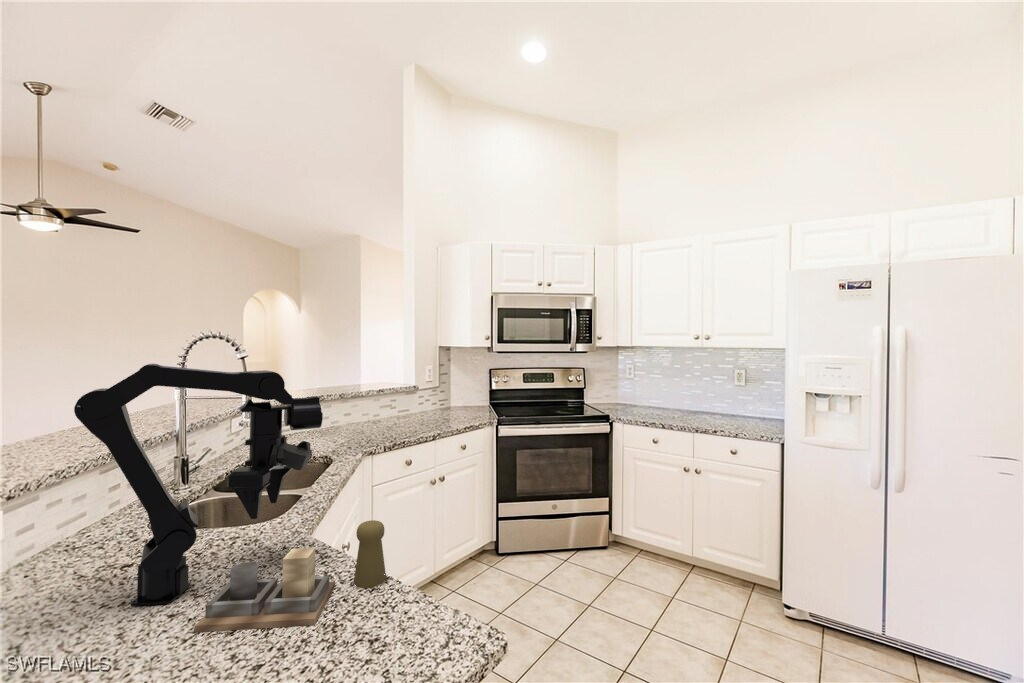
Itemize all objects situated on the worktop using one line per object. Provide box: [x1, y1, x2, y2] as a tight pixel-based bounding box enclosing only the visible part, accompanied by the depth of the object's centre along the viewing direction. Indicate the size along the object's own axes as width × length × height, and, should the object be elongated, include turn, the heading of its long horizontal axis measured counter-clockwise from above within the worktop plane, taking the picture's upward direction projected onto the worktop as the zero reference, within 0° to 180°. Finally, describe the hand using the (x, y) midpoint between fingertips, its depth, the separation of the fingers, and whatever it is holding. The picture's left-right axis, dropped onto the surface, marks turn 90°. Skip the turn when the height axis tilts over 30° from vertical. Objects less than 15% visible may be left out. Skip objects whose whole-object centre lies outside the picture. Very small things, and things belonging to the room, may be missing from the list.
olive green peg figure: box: [353, 520, 387, 589], centre depth 88 cm, size 6×6×11 cm
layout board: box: [194, 561, 336, 633], centre depth 78 cm, size 18×12×7 cm, turn 97°
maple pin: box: [282, 547, 316, 598], centre depth 79 cm, size 4×4×8 cm
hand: (264, 510), depth 91 cm, fingers open, 9 cm apart
